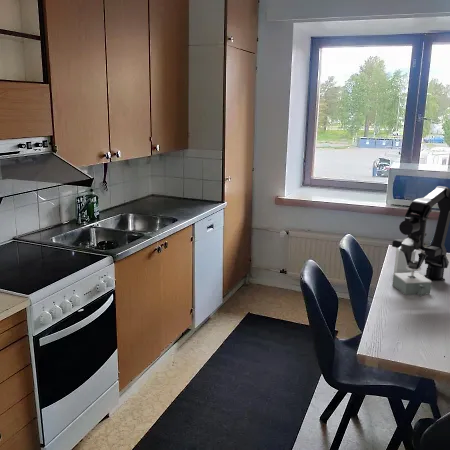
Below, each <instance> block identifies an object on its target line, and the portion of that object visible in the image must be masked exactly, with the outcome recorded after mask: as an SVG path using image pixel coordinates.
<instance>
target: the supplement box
mask: <svg viewBox="0 0 450 450" xmlns="http://www.w3.org/2000/svg"><path fill="white" fill-rule="evenodd" d="M400 249H401V246H400V247H399V248H396V247H395V258H394V265H393V266H394V269H393V274H394V273H411V270H408V269H407V268H406V266H407V261H406V258H405V255H404V253H403V252H402V251H401V250H400ZM416 253H417V250H416V249H415V250H414V251H413V252H412V256H411V260H414V261H416V260H415V259H416Z"/></svg>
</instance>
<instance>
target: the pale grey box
mask: <svg viewBox="0 0 450 450" xmlns="http://www.w3.org/2000/svg"><path fill="white" fill-rule="evenodd" d="M392 277H393V278H392V285H391V286H393V287H394V288H396V290H398V291H400V292H401V293H402V294H403V293H404V295H406V296H410V295H418V296H420V297H423V296H424V295H429V294H431V289H432V282H433V281H432V280H430V279H429V278H427V277H425V276H424V275H422V274H421V273H419V271H414V278H409V277H411V273H394V272H393V275H392Z"/></svg>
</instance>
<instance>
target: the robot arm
mask: <svg viewBox="0 0 450 450" xmlns="http://www.w3.org/2000/svg"><path fill="white" fill-rule="evenodd" d="M436 204H437V207H438V209H439V214H438V217H437V222H436V226H435V232H434V235H433V239H432V243H430V245H427V246H425V245H426V242H425V237H426V236H427V233H426V228H427V220H429V216H430V213H431V212H432V211H433V206H435V205H436ZM404 217H405V218H404V220H402V222H400V224H399V227H398V229H399V231H400V233H401V234H402V235H403V236H407V237H405V238H399V237H398V238H396V239H393V240H392V242H391V247H393V248H395V249H396V248H399V247H400V246H401V249H400V250H401V251H402V252H403V253H404V255H405V258H406V261H407V265H409V261H410V260H411V256H412V252H413V251H414V250H415V251H420V252H419V253H418V254H417V255H418V260H417V261H418V266H417V268H421V266H422V265H423V263H424V264H425V265H427V267H426V271H425V274H424V275H423V276H424V277H426V278H427V279H429V280H430V281H432V282H433V281H434V282H435V281H445V280H446V278H445V277H444V273H445V269H448V267H449V263H450V261H449V259H448V257H447V249H446V247H445V243H446V238H447V235H448V231H449V226H450V188H449V187H448V186H442V185H438V186H436V187H435V188H434V189H433V190H432V191H431V192H429V193H428V194H426V195H425V196H424V197H420V198H416V199H414V200H413V201H411V203H410V205H409V207H408V208H407V210H406V213H405V215H404Z"/></svg>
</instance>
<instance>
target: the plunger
mask: <svg viewBox="0 0 450 450" xmlns="http://www.w3.org/2000/svg"><path fill="white" fill-rule="evenodd" d="M417 266H418V260H415V261H414V260H410V261H409V265H407V266H406V268H407V269H408V270H411V277H409V278H414V272H419V271H421V270H422V269H421V267H420V268H417Z"/></svg>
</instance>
